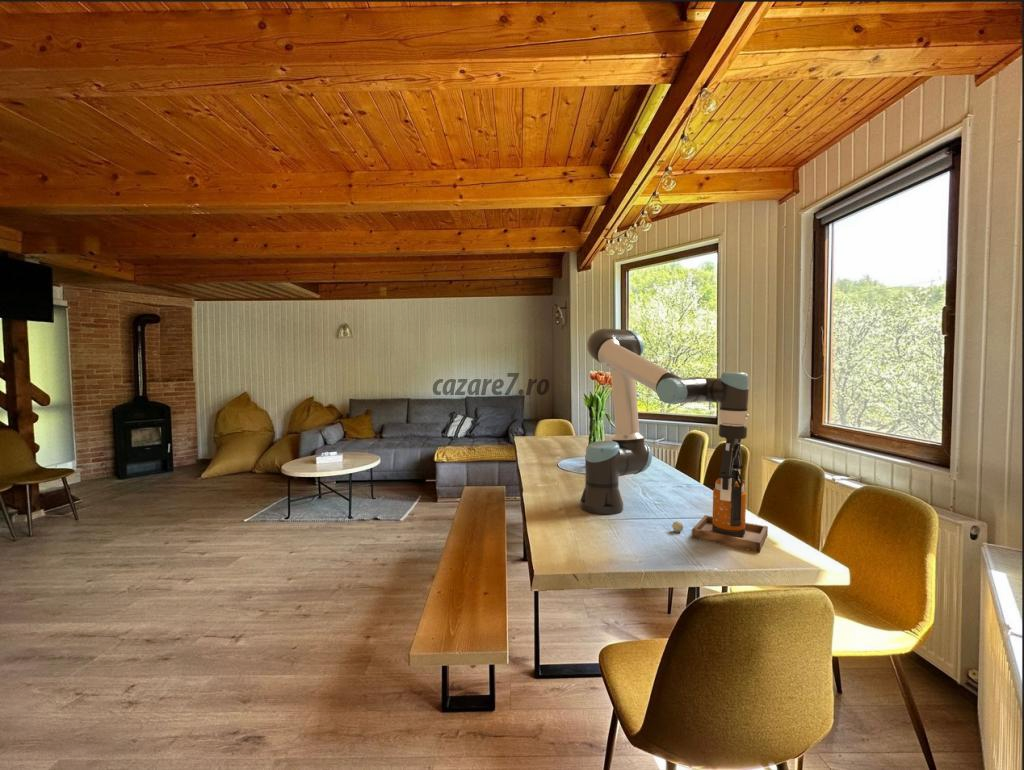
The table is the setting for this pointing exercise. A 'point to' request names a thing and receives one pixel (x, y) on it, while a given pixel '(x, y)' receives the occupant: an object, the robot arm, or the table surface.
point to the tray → (749, 540)
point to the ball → (677, 526)
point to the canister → (730, 508)
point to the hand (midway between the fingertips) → (730, 494)
